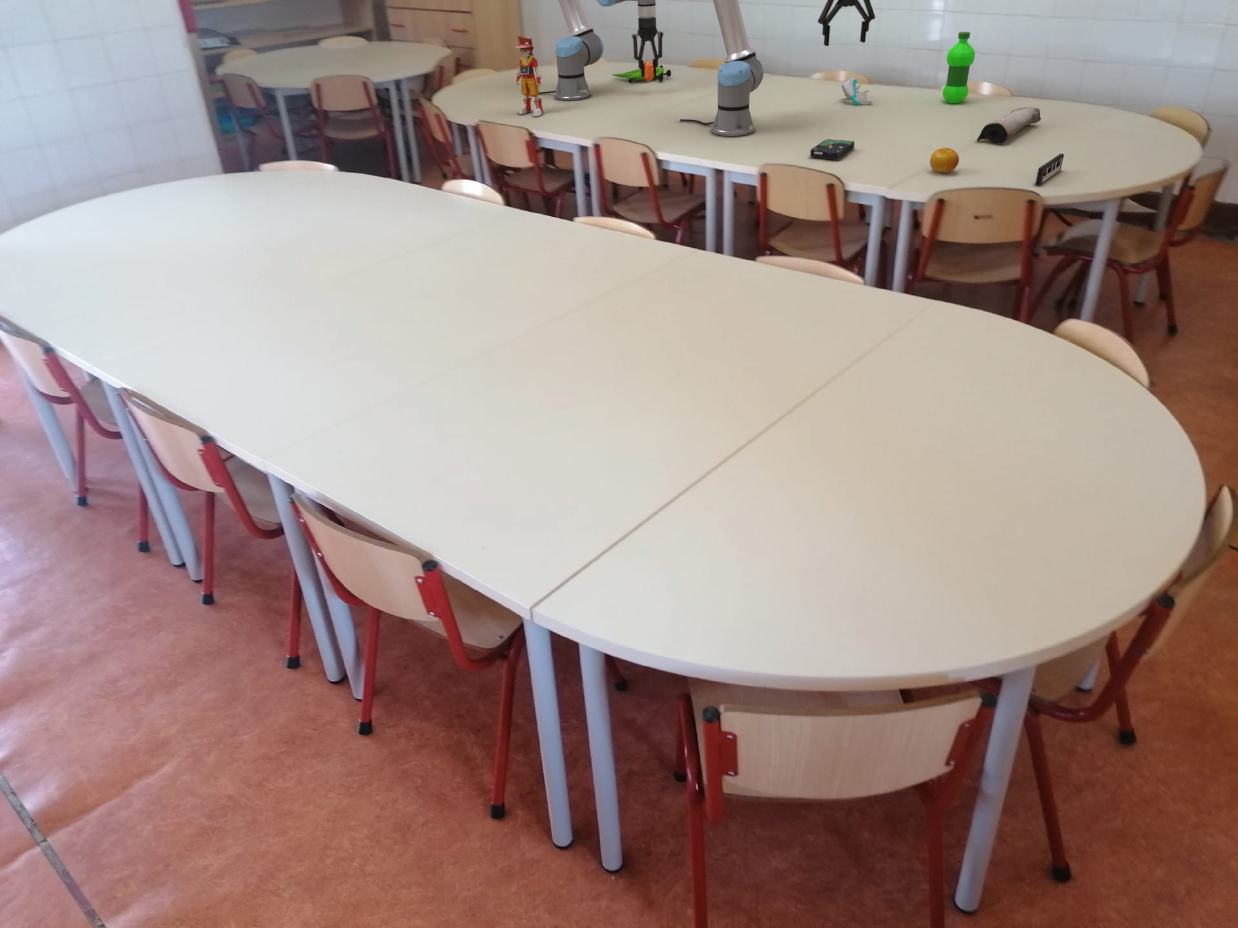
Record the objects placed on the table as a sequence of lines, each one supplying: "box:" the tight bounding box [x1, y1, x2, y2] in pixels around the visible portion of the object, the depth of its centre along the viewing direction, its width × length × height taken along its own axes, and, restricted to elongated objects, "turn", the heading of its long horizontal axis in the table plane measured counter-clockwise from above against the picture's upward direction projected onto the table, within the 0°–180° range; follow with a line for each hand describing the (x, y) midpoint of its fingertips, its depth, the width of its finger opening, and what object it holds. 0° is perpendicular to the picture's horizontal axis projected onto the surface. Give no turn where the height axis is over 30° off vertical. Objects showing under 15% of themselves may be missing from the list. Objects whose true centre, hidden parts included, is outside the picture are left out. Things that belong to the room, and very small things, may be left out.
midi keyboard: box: [1035, 153, 1065, 186], centre depth 273 cm, size 18×1×5 cm, turn 138°
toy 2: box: [611, 65, 672, 84], centre depth 420 cm, size 28×5×30 cm
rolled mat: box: [976, 106, 1042, 145], centre depth 314 cm, size 30×9×10 cm
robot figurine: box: [644, 60, 654, 82], centre depth 387 cm, size 7×5×8 cm
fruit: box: [929, 147, 960, 174], centre depth 283 cm, size 8×8×8 cm
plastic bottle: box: [942, 31, 976, 104], centre depth 348 cm, size 10×10×25 cm
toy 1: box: [514, 35, 544, 117], centre depth 366 cm, size 12×9×30 cm
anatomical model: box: [841, 76, 874, 106], centre depth 361 cm, size 15×10×10 cm
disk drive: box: [809, 138, 855, 161], centre depth 306 cm, size 10×3×15 cm
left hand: (648, 76), depth 388 cm, fingers closed on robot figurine, 5 cm apart
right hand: (844, 44), depth 317 cm, fingers open, 13 cm apart
